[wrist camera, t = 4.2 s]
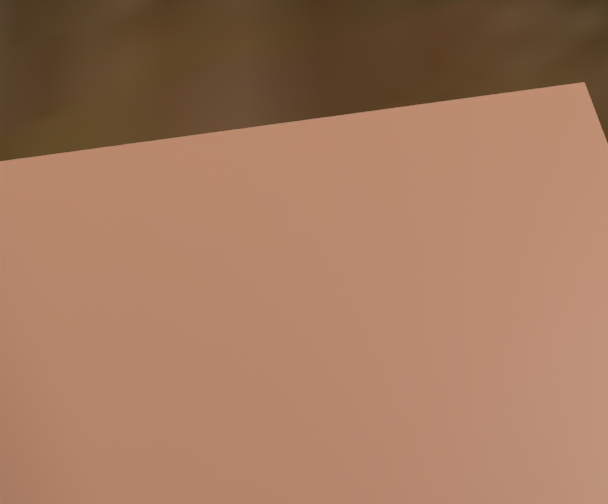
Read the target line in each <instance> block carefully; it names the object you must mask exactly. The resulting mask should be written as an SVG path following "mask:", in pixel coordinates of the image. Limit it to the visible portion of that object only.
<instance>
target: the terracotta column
mask: <svg viewBox="0 0 608 504" xmlns="http://www.w3.org/2000/svg"><path fill="white" fill-rule="evenodd" d="M0 504H608V143H607V141H606V138H605V135H604V133H603V130H602V127H601V125H600V122H599V119H598V117H597V114H596V111H595V109H594V106H593V103H592V101H591V98H590V96H589V93H588V90H587V88H586V85H585V82H583V83H575V84H568V85H560V86H553V87H546V88H538V89H531V90H524V91H516V92H509V93H501V94H494V95H487V96H479V97H472V98H465V99H457V100H450V101H442V102H435V103H428V104H420V105H413V106H406V107H398V108H391V109H383V110H376V111H369V112H361V113H354V114H347V115H339V116H332V117H324V118H317V119H310V120H302V121H295V122H288V123H280V124H273V125H265V126H258V127H251V128H243V129H236V130H229V131H221V132H214V133H206V134H199V135H192V136H184V137H177V138H169V139H162V140H155V141H147V142H140V143H133V144H125V145H118V146H110V147H103V148H96V149H88V150H81V151H74V152H66V153H59V154H51V155H44V156H37V157H29V158H22V159H15V160H7V161H0Z"/></svg>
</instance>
